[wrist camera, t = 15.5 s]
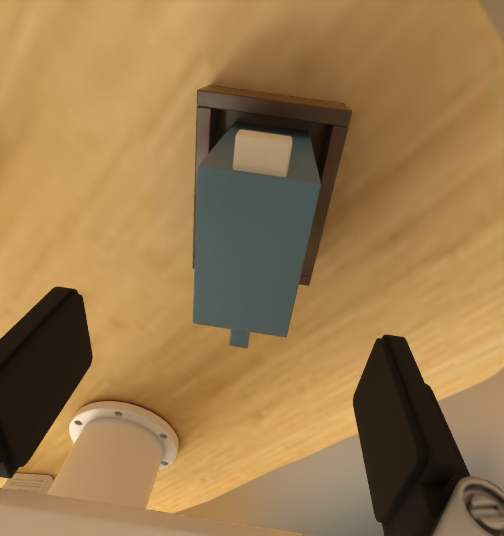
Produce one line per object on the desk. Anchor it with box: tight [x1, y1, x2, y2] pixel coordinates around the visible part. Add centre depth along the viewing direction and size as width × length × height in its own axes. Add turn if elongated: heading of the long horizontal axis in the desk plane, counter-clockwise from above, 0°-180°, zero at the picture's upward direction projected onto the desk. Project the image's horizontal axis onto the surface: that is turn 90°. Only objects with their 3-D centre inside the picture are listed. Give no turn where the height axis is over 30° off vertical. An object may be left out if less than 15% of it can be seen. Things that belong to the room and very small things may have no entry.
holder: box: [193, 85, 352, 286], centre depth 22 cm, size 11×8×3 cm
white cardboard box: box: [2, 473, 54, 494], centre depth 46 cm, size 6×6×7 cm
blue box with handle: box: [193, 121, 321, 348], centre depth 19 cm, size 4×11×10 cm, turn 174°
